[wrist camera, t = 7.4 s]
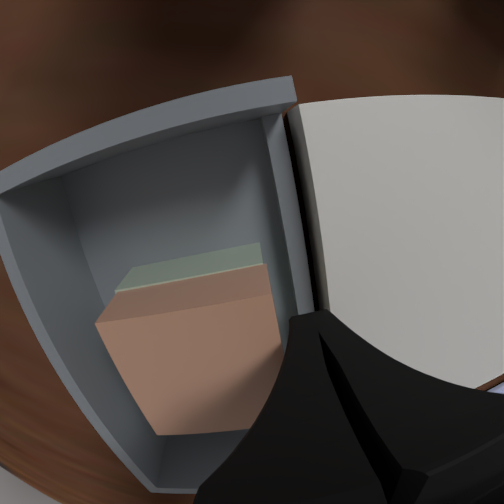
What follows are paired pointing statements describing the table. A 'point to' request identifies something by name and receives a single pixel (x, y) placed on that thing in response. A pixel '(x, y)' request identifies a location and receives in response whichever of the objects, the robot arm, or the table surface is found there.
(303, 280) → the bin
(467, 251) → the ledge board
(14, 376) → the table surface
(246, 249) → the green tile
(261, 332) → the terracotta tile
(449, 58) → the table surface
